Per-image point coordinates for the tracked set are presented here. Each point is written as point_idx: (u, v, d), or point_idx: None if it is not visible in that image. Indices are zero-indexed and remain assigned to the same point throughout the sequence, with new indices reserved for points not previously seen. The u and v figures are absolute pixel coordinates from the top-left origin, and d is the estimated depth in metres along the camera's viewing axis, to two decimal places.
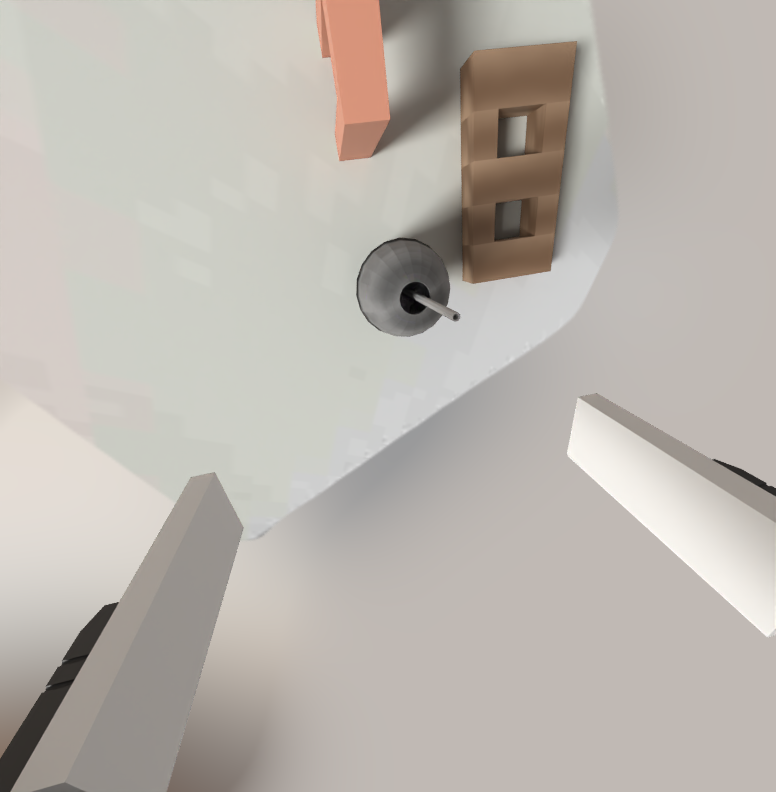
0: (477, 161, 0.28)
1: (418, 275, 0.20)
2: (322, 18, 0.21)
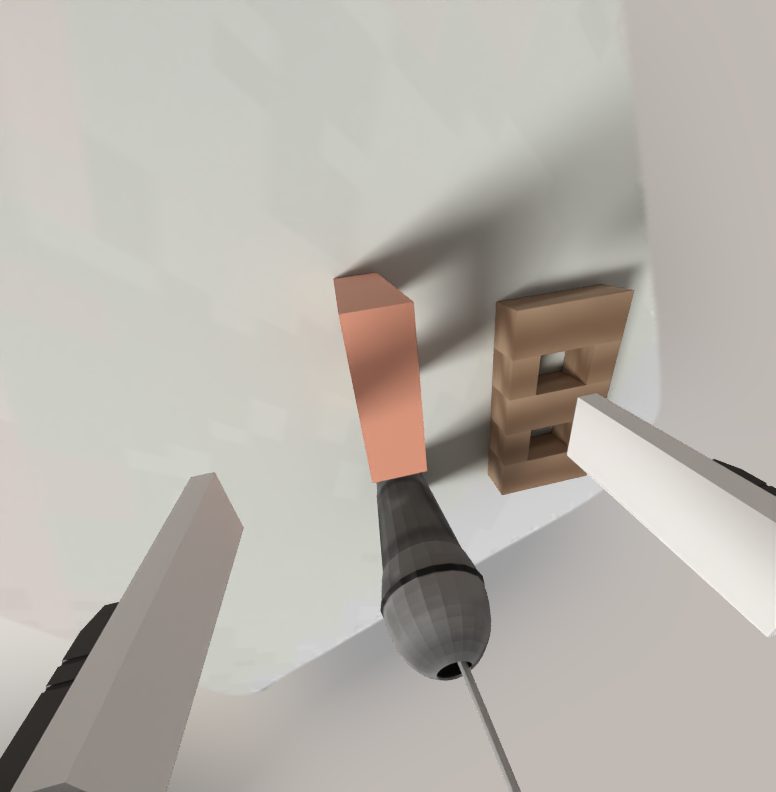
0: (513, 400, 0.25)
1: (459, 654, 0.17)
2: None
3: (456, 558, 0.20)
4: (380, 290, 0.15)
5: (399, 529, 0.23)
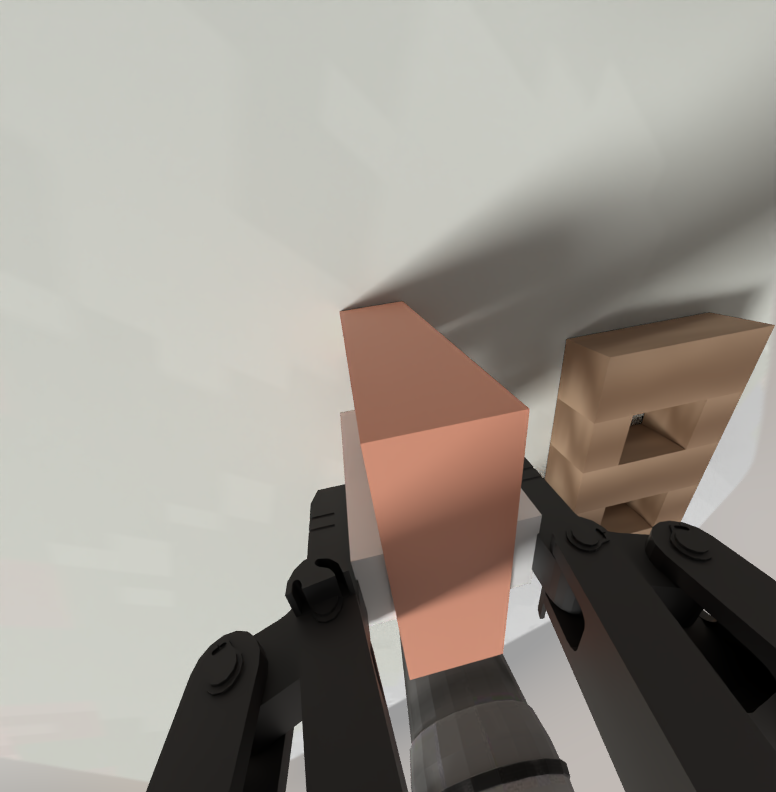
0: (588, 472, 0.18)
1: None
2: None
3: (528, 742, 0.13)
4: (428, 351, 0.08)
5: None
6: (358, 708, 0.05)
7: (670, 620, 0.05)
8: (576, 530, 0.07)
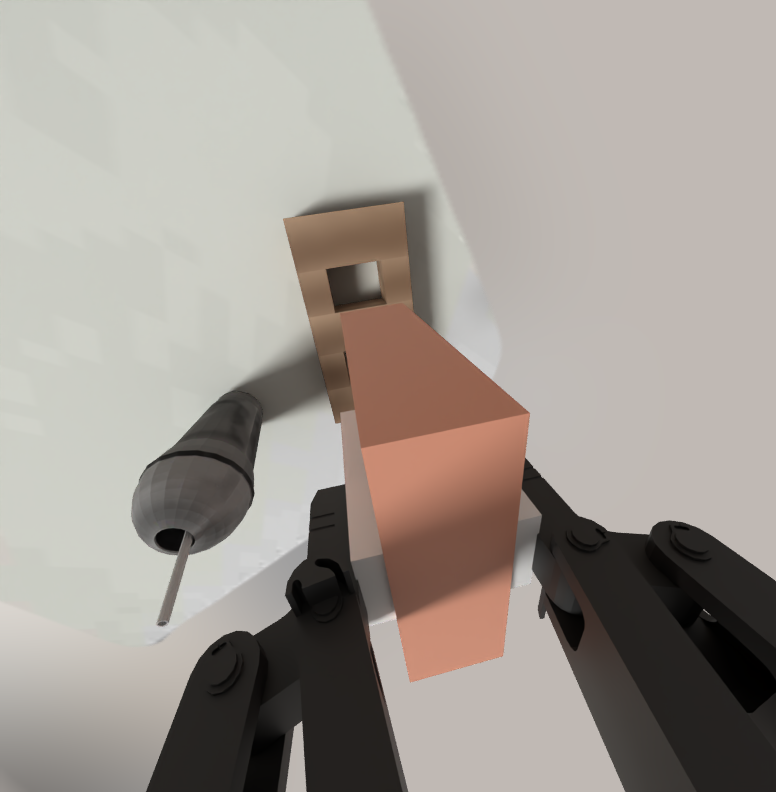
0: (312, 317, 0.26)
1: (171, 521, 0.18)
2: None
3: (212, 450, 0.21)
4: (428, 354, 0.08)
5: (185, 434, 0.24)
6: (358, 708, 0.05)
7: (670, 620, 0.05)
8: (576, 530, 0.07)
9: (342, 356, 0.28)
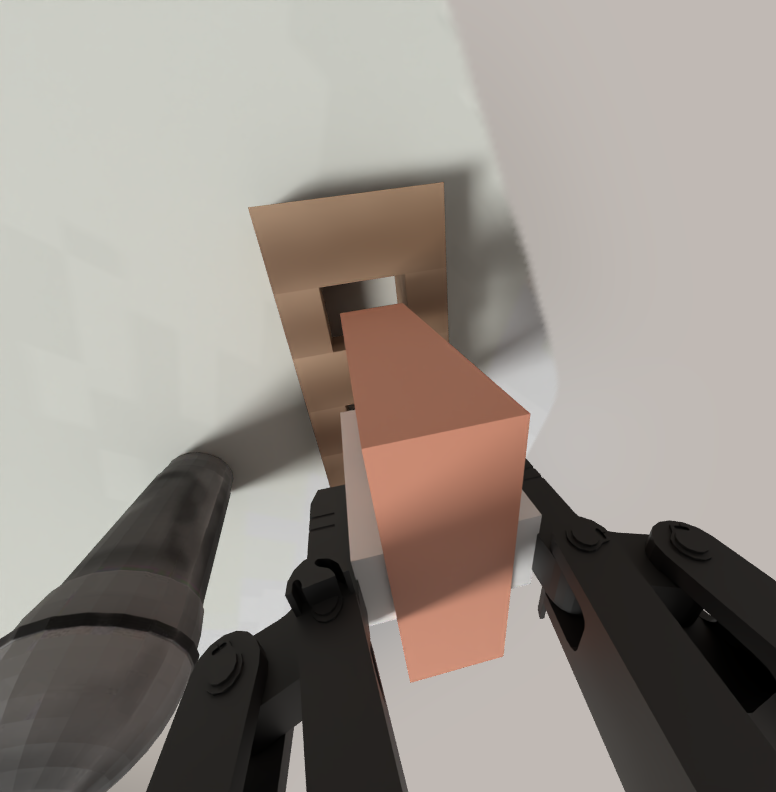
0: (299, 359, 0.17)
1: None
2: None
3: (121, 601, 0.12)
4: (428, 354, 0.08)
5: (94, 550, 0.15)
6: (358, 708, 0.05)
7: (669, 620, 0.05)
8: (576, 530, 0.07)
9: (343, 411, 0.19)
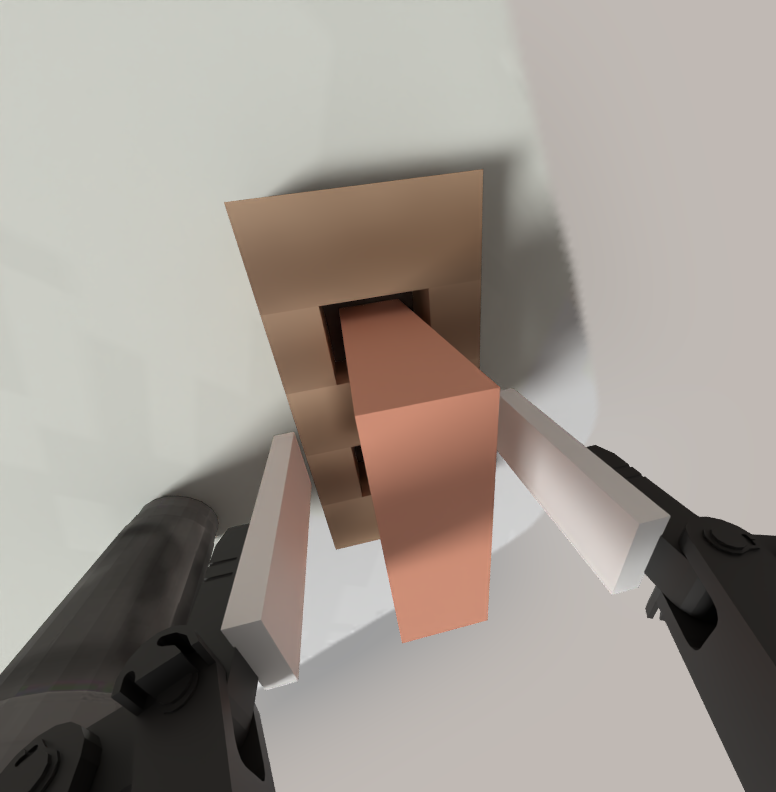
0: (294, 393, 0.14)
1: None
2: None
3: None
4: (418, 342, 0.09)
5: (25, 649, 0.11)
6: None
7: None
8: (717, 530, 0.06)
9: (349, 454, 0.16)
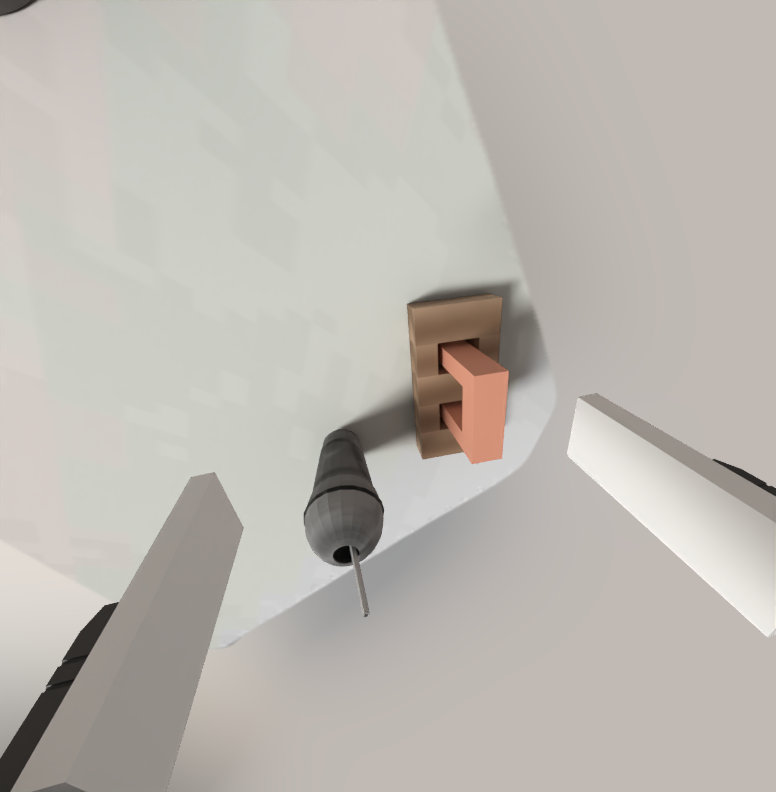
0: (421, 378, 0.33)
1: (348, 540, 0.24)
2: (452, 375, 0.31)
3: (360, 484, 0.27)
4: (481, 358, 0.28)
5: (326, 469, 0.30)
6: None
7: None
8: None
9: (437, 407, 0.35)
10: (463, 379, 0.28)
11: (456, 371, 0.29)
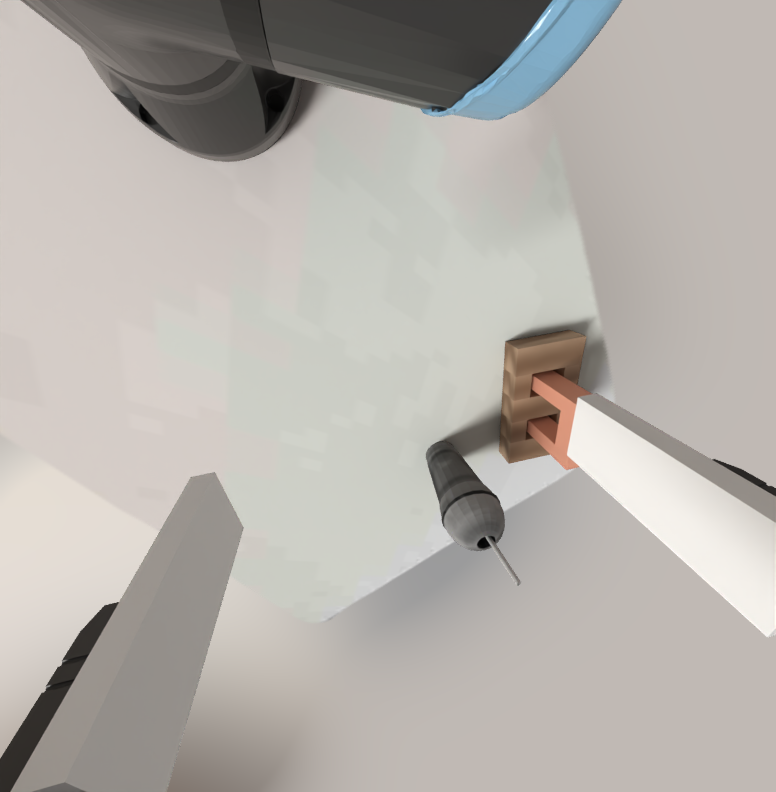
0: (516, 400, 0.41)
1: (489, 531, 0.32)
2: (546, 399, 0.39)
3: (484, 489, 0.36)
4: (574, 388, 0.36)
5: (449, 477, 0.38)
6: None
7: None
8: None
9: (526, 422, 0.43)
10: (562, 405, 0.36)
11: (553, 398, 0.37)
